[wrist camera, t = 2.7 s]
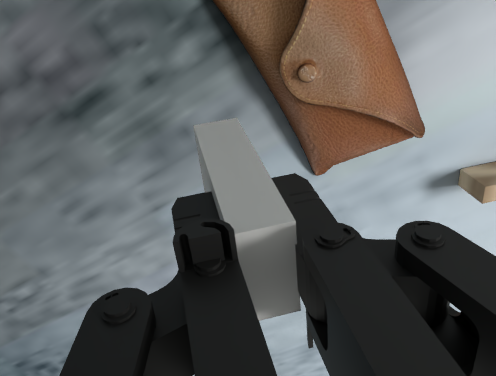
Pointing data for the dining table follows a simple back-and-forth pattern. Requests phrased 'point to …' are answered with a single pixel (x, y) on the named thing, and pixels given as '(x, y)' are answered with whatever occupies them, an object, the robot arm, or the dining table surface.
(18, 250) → the dining table surface
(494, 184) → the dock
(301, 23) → the sunglasses case
